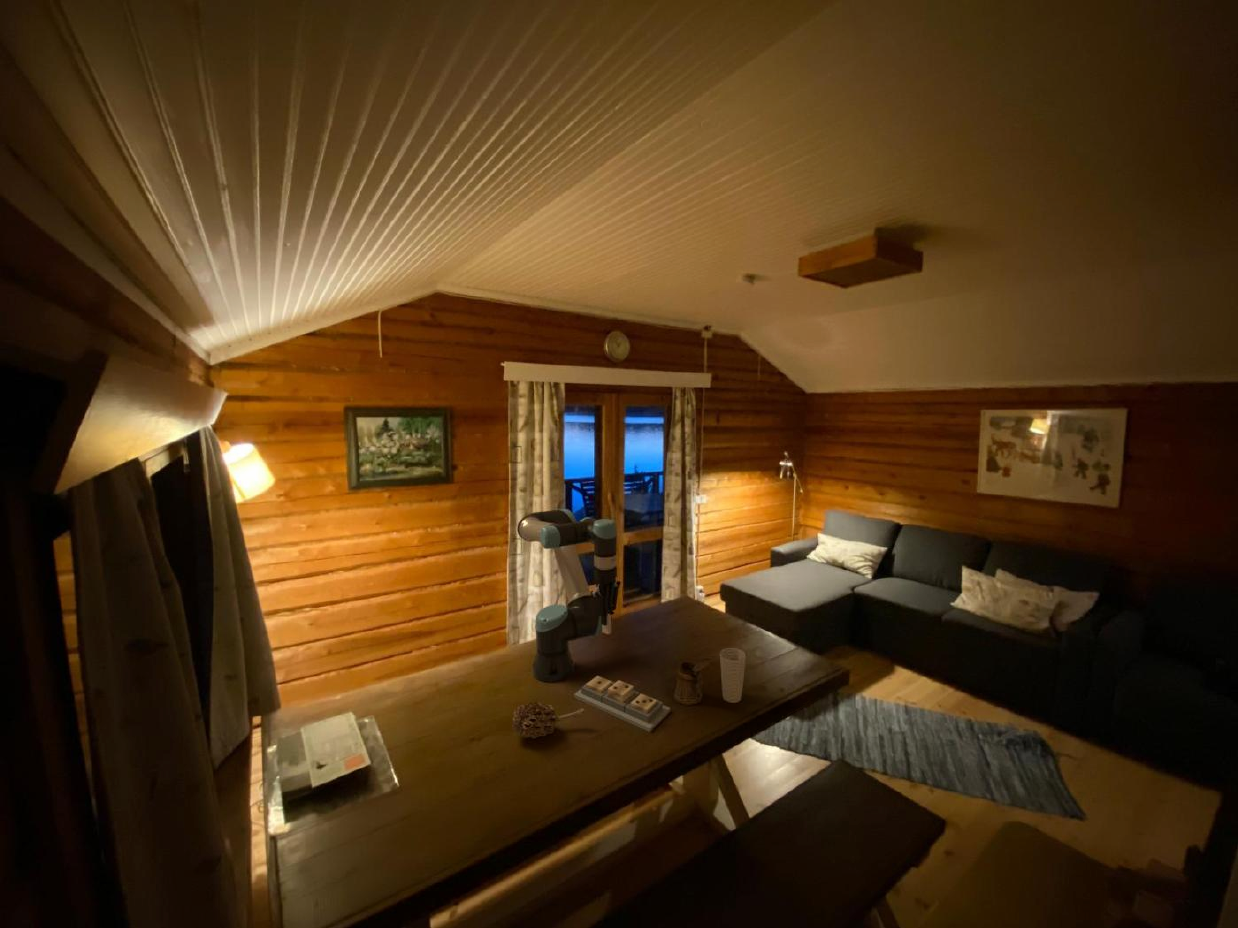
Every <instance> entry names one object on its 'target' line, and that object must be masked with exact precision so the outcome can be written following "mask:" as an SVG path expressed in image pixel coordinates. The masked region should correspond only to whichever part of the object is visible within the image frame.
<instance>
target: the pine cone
mask: <svg viewBox="0 0 1238 928" xmlns="http://www.w3.org/2000/svg"><path fill="white" fill-rule="evenodd" d="M584 711H585V709H584V708H581V707H580V708H579V710H576V711H574V712H571V713H567V714H563V715H559V716H558V714H556V713H555V709H554V707H553V705H552V704H548V703H547V702H544V703H542V702H540V701H539V702H537V701H534V703H533V702H529V703H527V704H522V705H520V706H518V707H517V709H516V710H515V711H513V717H512V729H513V731H514V732H515V731H516V734H517V735H519V736H521V735H522V737H524V738H527V739H528V738H530V737H531V738H532V739H535V738H539V737H545V736H547V735H550V734H553V732H554V729H555V726H556V724H558V723H557V722H560V721H565V720H568V719H571V718H576V717H579V716H584Z"/></svg>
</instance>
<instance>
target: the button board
mask: <svg viewBox="0 0 1238 928" xmlns="http://www.w3.org/2000/svg"><path fill="white" fill-rule="evenodd" d="M597 676H598V675H596V676H595V677H597ZM595 677H593V678H591V680H593V679H594V678H595ZM591 680H590V681H591ZM590 681H588V682H587V683H589V682H590ZM587 683H585V684H584V685H583V686H581V687H580V689H579V690H578V691H576V692H575V693H573V698H575V699H576V700H579V701H580V702H583V703H585V704H587V705H589V706H592V707H594V708H596V709H598V710H600V711H602V712H605V713H606V714H608V715H611V716H613V717H616V718H618V719H620V720H622V721H624V722H626V723H629V724H631V725H633V726H634V727H637V728H640V729H642V730H643V731H646V732H649V733H651V732H652V731H653V730H654V729H655V728H656V727H657V726H658V725H659V723H661V721H663V720H664V719H665V717H667V716H668V714H669V713H671V707H668V706H666V705H664V703H663V702H662V701H660V700H658V699H656V700H657V705H656V706H655V707H654V708H653V709H652V710H651V711H650V712H649V713H648V714H646V713H644V712H642V711H639V710H637V709H635V708H632V707H631V702H632V701H634V700H635V699H636V698H637V697H638V696H639V695H640V694H642V693H640V692H638V691H636V690H634V695H633V696H631V697H630V698H629V699H628V700H627V701H626V702H624V703H621V702H619V701H616V700H614V699H612V698H609V697H608V689H606V690H605V691H604V692H603V693H601V694H600V693H598V692H596V691H593V690H591V689H589V688H587ZM615 683H616V682H615V681H612V685H613V684H615ZM612 685H611V686H612ZM611 686H610V687H611ZM610 687H609V688H610Z"/></svg>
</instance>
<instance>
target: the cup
mask: <svg viewBox="0 0 1238 928" xmlns="http://www.w3.org/2000/svg"><path fill="white" fill-rule="evenodd" d="M719 662H720V675H721V690H722V692H721V693H722V698H723V700H724V701H726V702H728V703H732V704H735V703H739V702H740V701H741V700H742V695H743V686H744V679H745V678H744V677H745V669H746V662H747V654H746V652H745V651H743V650H742V649H740V648H736V647H725V648H722V649H721V650H720V651H719Z"/></svg>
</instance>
